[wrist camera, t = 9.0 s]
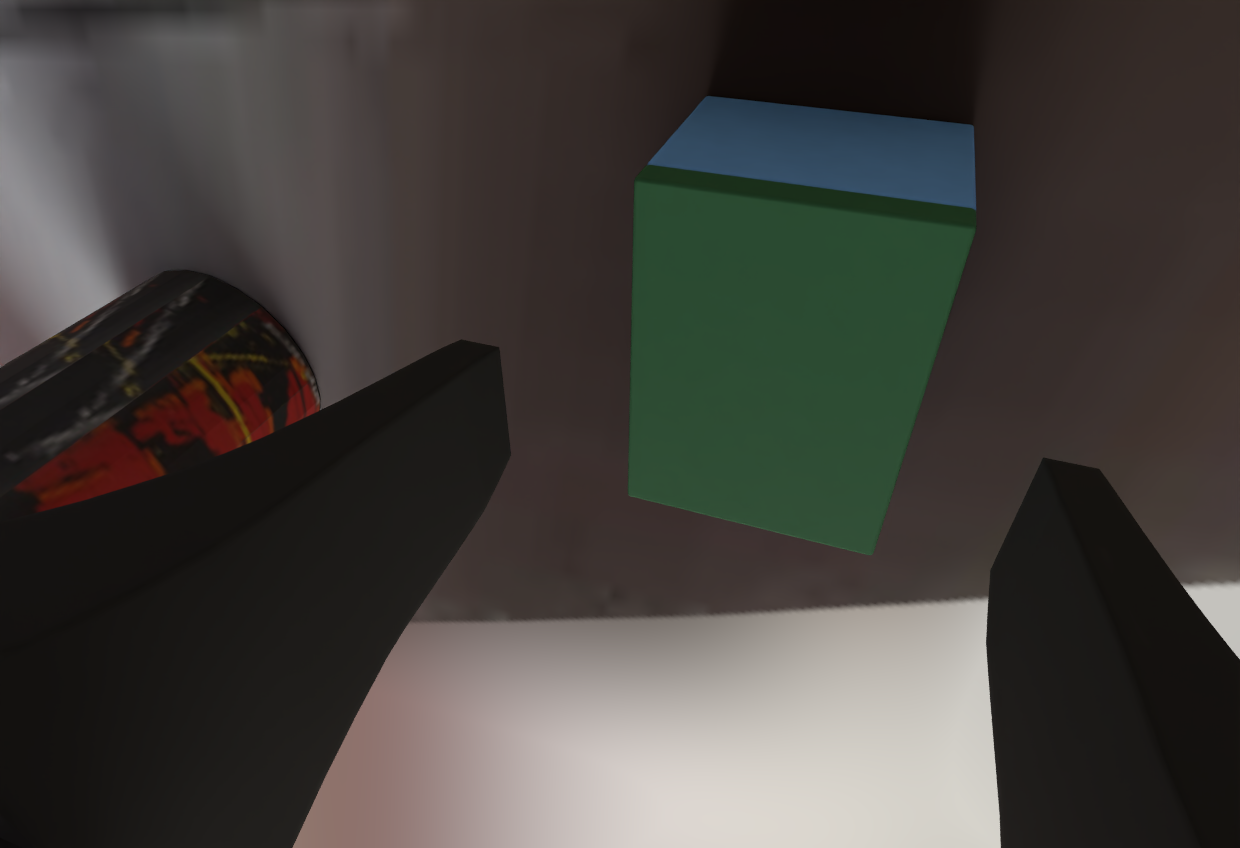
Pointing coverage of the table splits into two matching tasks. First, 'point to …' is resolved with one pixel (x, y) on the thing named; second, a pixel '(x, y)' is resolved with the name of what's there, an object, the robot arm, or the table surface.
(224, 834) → the robot arm
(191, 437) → the deodorant
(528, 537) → the table surface
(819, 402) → the sponge
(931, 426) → the table surface
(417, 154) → the table surface
